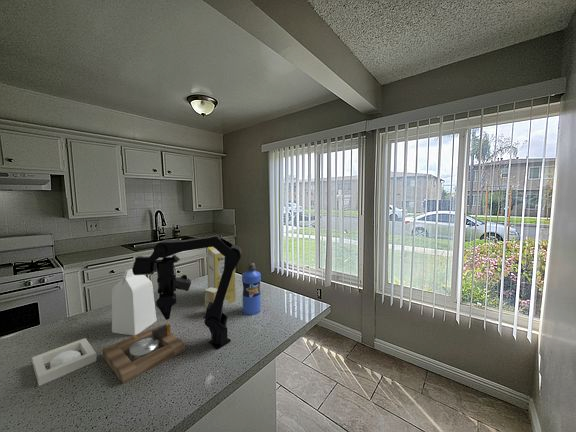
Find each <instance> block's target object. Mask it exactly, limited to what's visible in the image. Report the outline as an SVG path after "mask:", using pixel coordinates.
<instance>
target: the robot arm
mask: <svg viewBox="0 0 576 432" xmlns="http://www.w3.org/2000/svg"><path fill="white" fill-rule="evenodd" d="M208 247H214V248H215V249H217V250H218V251H219V252H220V253H221V254H222V255H223V256H225V262H224V271H223V274H222V277H221V280H220V283H219V287H218V290H217V293H216V296H215V299H214V301H213V303H212V302H209V304H208V306H207V309H206V313H205V312H204V316H203V320H204V324H205V327H207V328H208V330H209V331H210V339H209V341H207V343H208V344H209V345H211V346H212V347H213V348H215V349H216V350H218V349H221V348H222V347H224V346H226V345H227V344H229V343H231V339H230V338H228V337H229V336H228V335H229V334H228V327H227V322H228V319H229V317H228V315H226V313H224V311H223V310H224V304H223V302H224V298H225V295H226V292H227V289H228V286H229V283H230V279H231V276H232V273H233V271H234V269H235V270H236V268H237V266H238V264H239V262H240V261H241V257H242V252H243V250H242V248H241V247H240V245H237V244H233V243H232V242H230V241H228V240H226V239H224V238H222V237H221V235H218V234H214V235H211V236H204V237H198V238H191V239H182V240H180V239H170V238H169V239H164V240H161V241H160V242H158V243H156V244H155V245H154V247H153V252H152V254H150V256H142V255H140V256H139V255H138V256H136V257H135V259H134V262H133V266H132V267H131V269H132V271H133V274H134V275H145V276H148V275H149V276H150V275H151V276H152V275H153V274H154V273H155V272H156V273H157V275H156V277H157V278H156V283H157V294H158V295H157V296H156V298H155V308H156V307H157V308H158V310H159V311H160V313H161V314H162V316H163V318H164V319H165V320H167V321H168V320H170V317H171V313H172V312H171V311H172V307H173V306H174V305H176V304H177V294H176V293H175V292H176V291H177V290H180V291H181V290H182V291H185V292H188V291H189V290H190V287H191V284H192V280H191V279H190V278H188V275H187V274H182V275H181V276H178V277H176V273H175V263H179V261H180V260H181V258H179V256H177V254H178V253H182V252H186V251H187V252H188V251H194V250H200V249H207V248H208Z"/></svg>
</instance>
